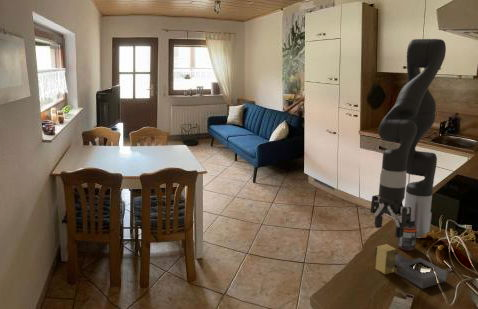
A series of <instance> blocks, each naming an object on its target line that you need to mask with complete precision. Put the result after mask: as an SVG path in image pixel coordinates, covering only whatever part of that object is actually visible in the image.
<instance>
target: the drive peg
mask: <svg viewBox="0 0 478 309" xmlns="http://www.w3.org/2000/svg"><path fill="white" fill-rule="evenodd" d="M376 247H377V255H376V257H375V258H376V259H375V270H377V271H378V272H380V273H382V275H388V274H390V273H394V272H395V267H396V266H395V256H396V252H397V248H395V247H394V246H391V245H390V244H387V243H385V244H381V245H378V246H376Z"/></svg>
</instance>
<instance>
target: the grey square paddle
mask: <svg viewBox="0 0 478 309" xmlns="http://www.w3.org/2000/svg"><path fill="white" fill-rule="evenodd" d="M375 256H377V246H376V247H375ZM417 263H421V264H422V265H423V266H424V267H427V268H432V267H433V268H434V271H435V272H436V274H437V276H438V279H439V282H440V283H439V284H442V283H445V282H446V281H447V275H448V274H447V272H448V271H446V270H444V269H443V268H440V267H439V266H437V265H435V264H433V263H431V262H429V261H427V260H426V259H424V258H422V257H416V258H414V259H408V258H406V257H405V256H403V255H401V254H399V253H398V251H396V256H395V266H394V267H396V274H397V275H399V276H400V277H402V278H403V279H405V280H407V281H408V282H410V283H412V284H414V285H415V286H416V287H418V288H420V289H427V288H428V287H433V286H435V285H437V284H436V279H435V274H434V272H433V271H430V272H426V273H423V274H422V273H421V272H419V271H417V270H415V269H413V266H414V265H415V264H417Z"/></svg>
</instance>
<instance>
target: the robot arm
mask: <svg viewBox="0 0 478 309" xmlns="http://www.w3.org/2000/svg"><path fill="white" fill-rule="evenodd" d="M446 49H447V46H446V42H445V40H443V39H440V38H415V39H411V40H410V41H409V43H408V46H407V49H406V50H407V51H406V72H407V83H405V85H404V86H402V88H401V89H400V92H399V93H398V95H397V99H396V100H395V103H394V105H393V107H392V108H391V109H390V110H389V111H388V113H387V114H386V115H385V116H384V117H383V118H382V120H381V122H380V124H379V127H378V137H379V138H380V139H381V140H383V141H385V142H392V143H399V144H400V145H399V147H397V148H388V149H385V150H384V151H383V153H382V163H381V172H380V176H379V186H378V188H379V189H378V194H376V195H372V196H371V204H370V205H371V206H370V213H371V214H373V215H374V227H375V228H376V229H379V228H382V227H383V219H384V218H383V215H384V214H385V215H388V216H390V217H391V218H392V221H394V222H395V225H396V226H395V235H394V237H395V238H397V239H398V238H401V237H402V236H403V233H404V227H407V226H410V223H411V218H413V219H415V223H414V224H415V225H416V226H417V233H416V238H417V237H422V236H423V235H425V234H426V233H427V232H430V231H431V222H432V214H433V212H431V210H432V199H433V193H434V192H433V191H434V183H435V182H434V181H435V175H436V168H437V164H438V158H437V154H436V153H435V152H430V151H429V152H428V151H420V150H419V151H418V150H416V148H417V146H418V143H419V142H420V141H421V140H422V138H423V137H424V136H425V135H426V134H427V132H428V131H429V130H430V129H431V128H432V126H433V125H434V123H435V121H436V120H435V119H436V108H437V107H436V106H437V104H436V100H435V98H434V97H433V95H432V93H431V92H430V90H429V87H430V85H431V84H432V82H433V80H434V79H435V78H436V75H437V74H438V73H439V70H440V69H441V67H442V65H443V63H444V60H445V59H446V58H445V57H446V52H447V50H446ZM421 68H422V69H423V70H422V71H421V70H420V69H421ZM407 174H408V175H411V176H419V177H424V179H421V180H419V181H413V182H409V183H407ZM403 201H404V204H403ZM397 215H398V216H397Z"/></svg>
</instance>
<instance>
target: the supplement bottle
mask: <svg viewBox="0 0 478 309" xmlns="http://www.w3.org/2000/svg"><path fill="white" fill-rule="evenodd" d="M414 223H415V219H413V218H411V223H410V226H407V227H404V233H403V236H402V237H401V238H397V247H398V249H400V250H402V251H405V252H411V251H414V250H415V249H416V242H417V239H416V233H417V226H416V225H415V224H414Z"/></svg>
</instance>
